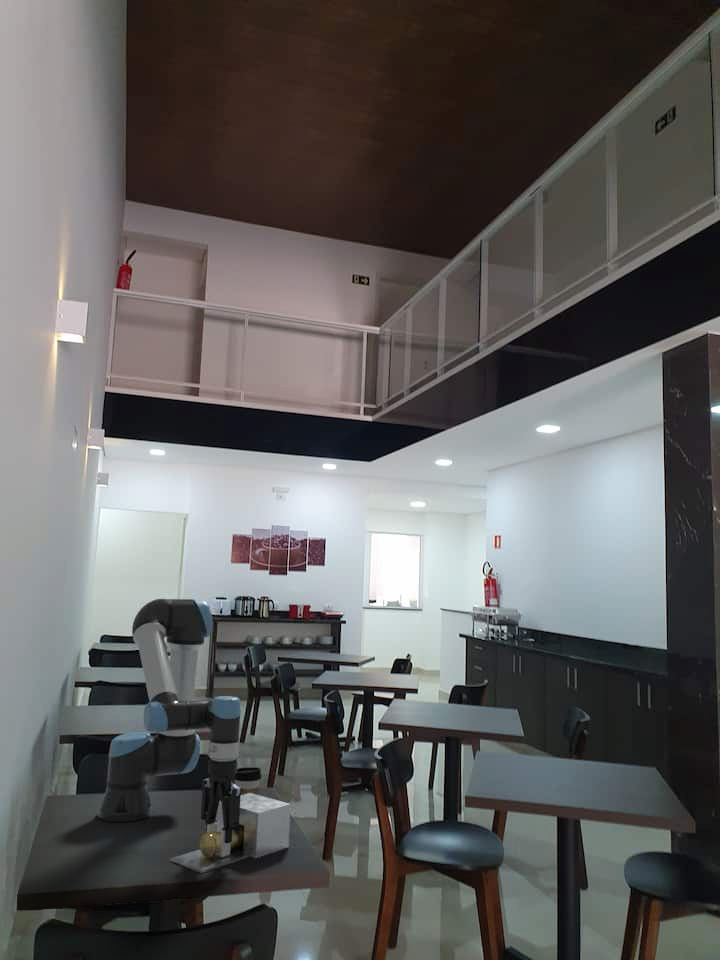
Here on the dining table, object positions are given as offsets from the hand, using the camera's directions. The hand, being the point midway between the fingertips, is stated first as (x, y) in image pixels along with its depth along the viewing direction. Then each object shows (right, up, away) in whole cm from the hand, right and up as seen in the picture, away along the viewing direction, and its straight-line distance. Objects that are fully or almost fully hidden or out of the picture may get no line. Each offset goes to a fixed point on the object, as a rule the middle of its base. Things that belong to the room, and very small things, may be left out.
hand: (217, 852), depth 189 cm
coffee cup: (+2, -6, +29) cm, 30 cm away
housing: (+2, -1, +3) cm, 4 cm away
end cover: (+2, -1, +2) cm, 3 cm away
